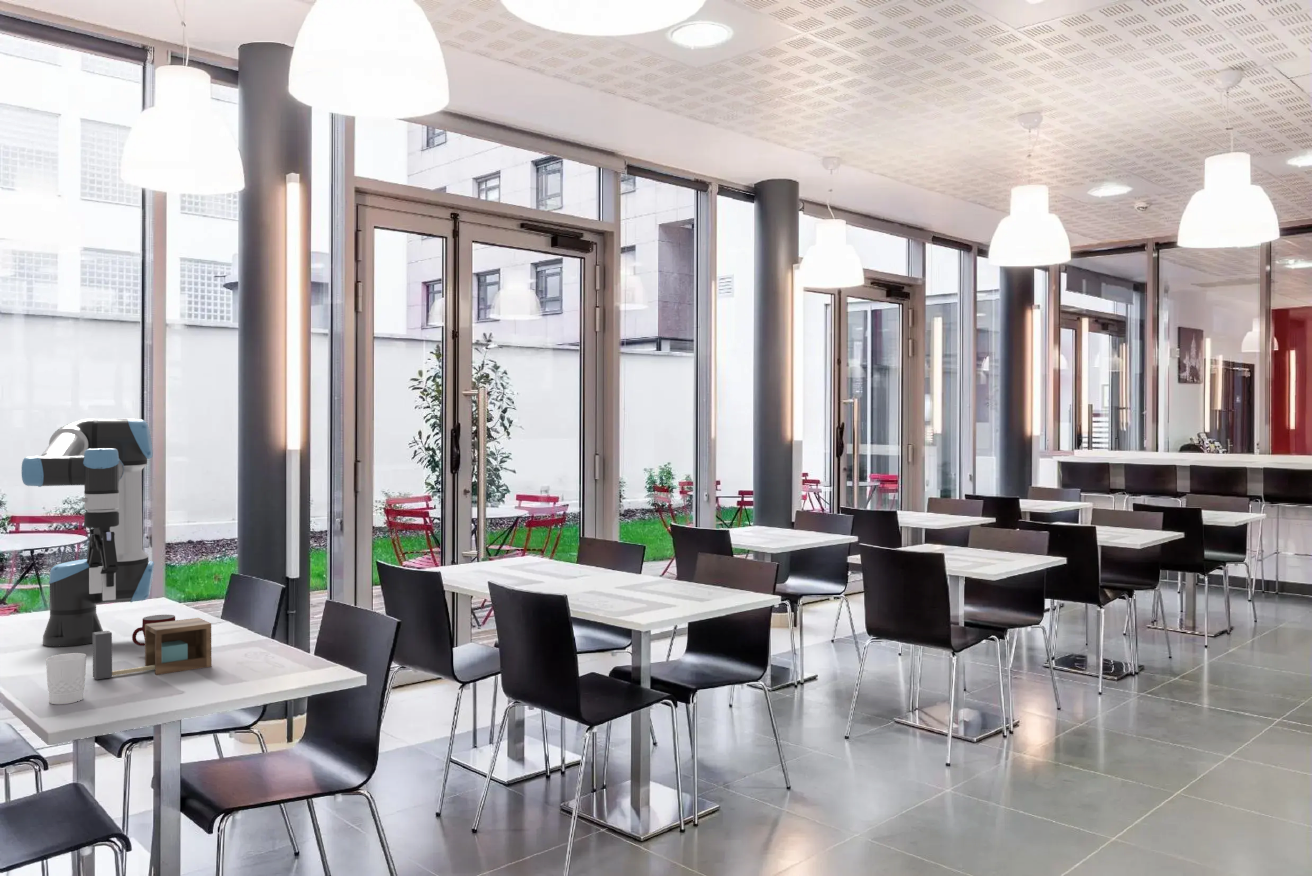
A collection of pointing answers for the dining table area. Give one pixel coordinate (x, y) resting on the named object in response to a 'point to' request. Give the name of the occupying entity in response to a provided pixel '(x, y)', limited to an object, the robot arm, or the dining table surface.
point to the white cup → (66, 677)
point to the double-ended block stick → (104, 668)
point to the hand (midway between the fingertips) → (102, 596)
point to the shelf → (185, 630)
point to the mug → (147, 621)
